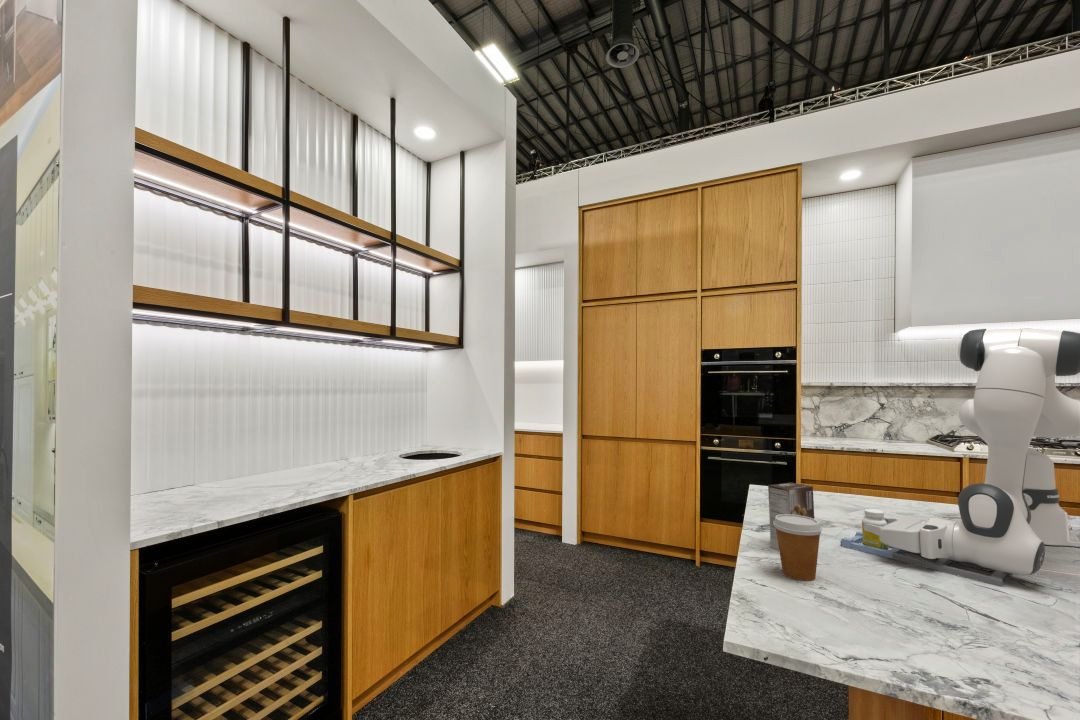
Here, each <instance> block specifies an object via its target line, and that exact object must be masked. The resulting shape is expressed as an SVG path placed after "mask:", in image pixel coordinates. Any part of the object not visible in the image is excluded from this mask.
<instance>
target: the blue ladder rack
mask: <svg viewBox="0 0 1080 720" xmlns="http://www.w3.org/2000/svg"><path fill="white" fill-rule="evenodd" d="M839 542H840V546H841V547H842V548H846V549H851V548H852V550H856V551H859V552H864V553H867V554H871V555H875V556H878V557H883V558H887V559H890V558H891V559H890V560H894V561H900V562H903V563H907V564H912V565H915V566H920V567H923V568H926V569H930V570H931V569H932V570H934V571H939V572H942V573H946V574H951V575H954V574H955V575H954V576H958V575H959V577H961V578H962V577H963V578H965V579H970V580H973V579H974V580H973V581H978V582H981V581H982V583H985V582H986V584H989V583H990V585H993V584H994V586H997V585H998V587H1003V586H1004V579H1005V577H1006V576H1009V577H1013V576H1014V574H1013V573H1007V572H1002V571H997V570H992V569H988V568H984V567H981V566H979V565H977V564H974V563H970V562H958V561H954V560H950V559H943V558H937V560H935V561H934V562H933V561H930V560H924V559H921V558H917V557H914V556H909V555H904V554H905V553H906V552H908V553H912V554H917V555H920V556H921V553H914V552H909V551H906V550H902V549H899V548H895V547H892V546H888V547H889V548H890V549H888V551H887V550H883V549H879V548H874V547H870V546H866V545H863V534H862V530H861V531H860V530H859V531H856V532H855V534H854V536H853V537H851V538H850V537H845V536H843V537H841V540H840V541H839ZM861 542H862V543H861ZM859 543H860V544H859ZM953 562H954V564H957V563H959V564H958V565H962V564H963V566H966V565H967V567H970V566H971V568H974V567H975V569H978V568H980V569H979V570H983V569H984V571H987V570H988V571H987V572H991V571H992V572H991V573H992V574H990V575H986V574H982V573H979V572H978V573H977V572H974V571H970V570H965V569H962V568H958V567H954V566H951V565H950V564H951V563H953Z"/></svg>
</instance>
